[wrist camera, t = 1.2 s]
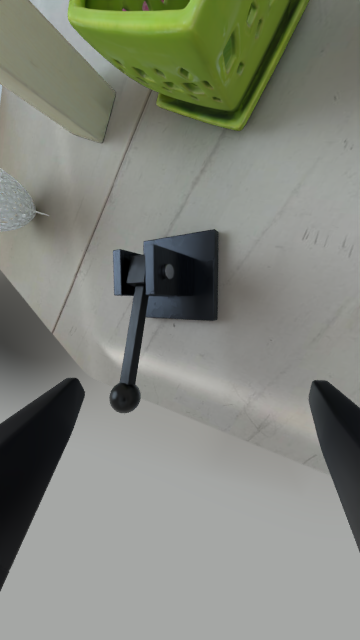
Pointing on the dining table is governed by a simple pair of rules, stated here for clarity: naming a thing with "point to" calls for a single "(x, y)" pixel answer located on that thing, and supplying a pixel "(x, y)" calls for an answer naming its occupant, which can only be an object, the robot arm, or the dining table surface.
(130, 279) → the lever with ball knob
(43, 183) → the dining table surface
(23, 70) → the toy refrigerator
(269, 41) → the flower pot
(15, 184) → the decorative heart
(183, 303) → the lever base
